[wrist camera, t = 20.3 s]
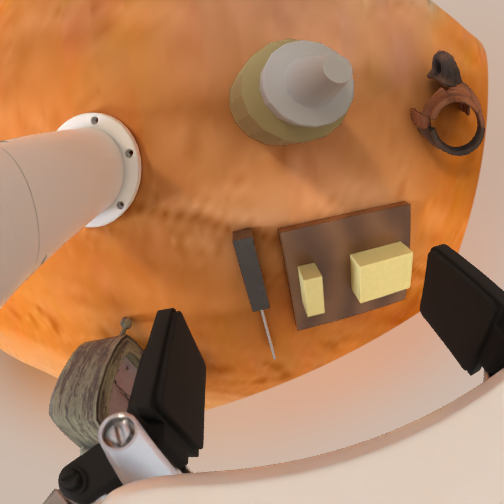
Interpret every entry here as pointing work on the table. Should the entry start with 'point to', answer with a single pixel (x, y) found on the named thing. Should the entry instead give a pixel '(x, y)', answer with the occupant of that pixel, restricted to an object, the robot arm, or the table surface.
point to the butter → (381, 271)
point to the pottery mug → (459, 92)
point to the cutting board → (341, 257)
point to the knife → (252, 275)
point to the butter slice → (311, 289)
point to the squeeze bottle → (292, 92)
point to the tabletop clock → (95, 386)
